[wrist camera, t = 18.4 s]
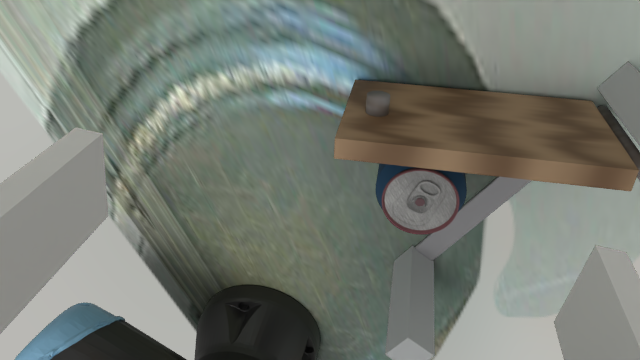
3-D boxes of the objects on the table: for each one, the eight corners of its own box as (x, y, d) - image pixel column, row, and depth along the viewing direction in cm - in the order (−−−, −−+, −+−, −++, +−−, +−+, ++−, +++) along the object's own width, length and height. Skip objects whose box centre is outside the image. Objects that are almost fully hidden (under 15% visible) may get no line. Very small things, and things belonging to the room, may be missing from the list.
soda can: (434, 178, 52) (435, 255, 42) (371, 146, 52) (357, 215, 42) (475, 122, 49) (487, 190, 39) (408, 86, 48) (403, 146, 38)
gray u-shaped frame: (414, 276, 59) (410, 381, 47) (393, 261, 58) (384, 363, 46) (653, 84, 44) (734, 165, 32) (628, 61, 44) (701, 135, 32)
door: (354, 96, 49) (333, 158, 38) (356, 64, 47) (335, 119, 37) (605, 120, 46) (655, 193, 36) (616, 86, 44) (671, 153, 34)
